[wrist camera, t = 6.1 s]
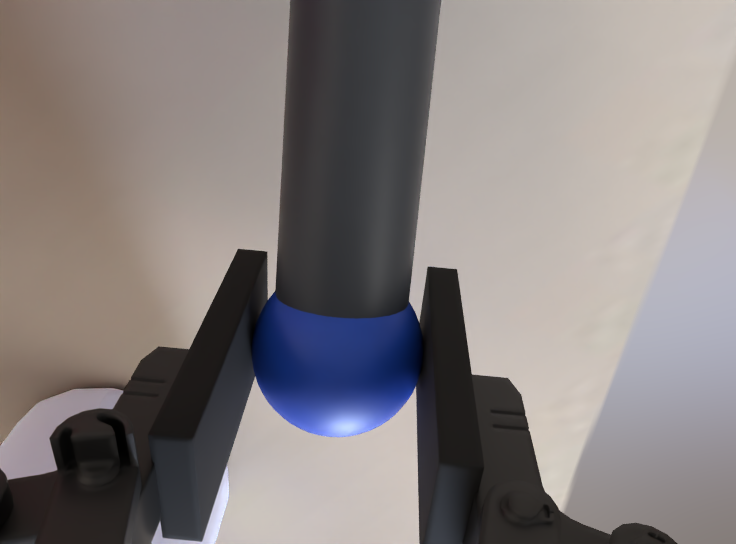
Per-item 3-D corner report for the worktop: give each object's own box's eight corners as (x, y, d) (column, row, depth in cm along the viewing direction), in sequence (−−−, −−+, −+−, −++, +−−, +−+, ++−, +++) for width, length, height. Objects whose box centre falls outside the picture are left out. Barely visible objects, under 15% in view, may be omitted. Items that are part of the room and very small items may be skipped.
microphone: (295, -217, 14) (258, -351, 10) (478, -202, 14) (515, -329, 10) (265, 383, 18) (229, 463, 14) (411, 397, 18) (418, 481, 14)
